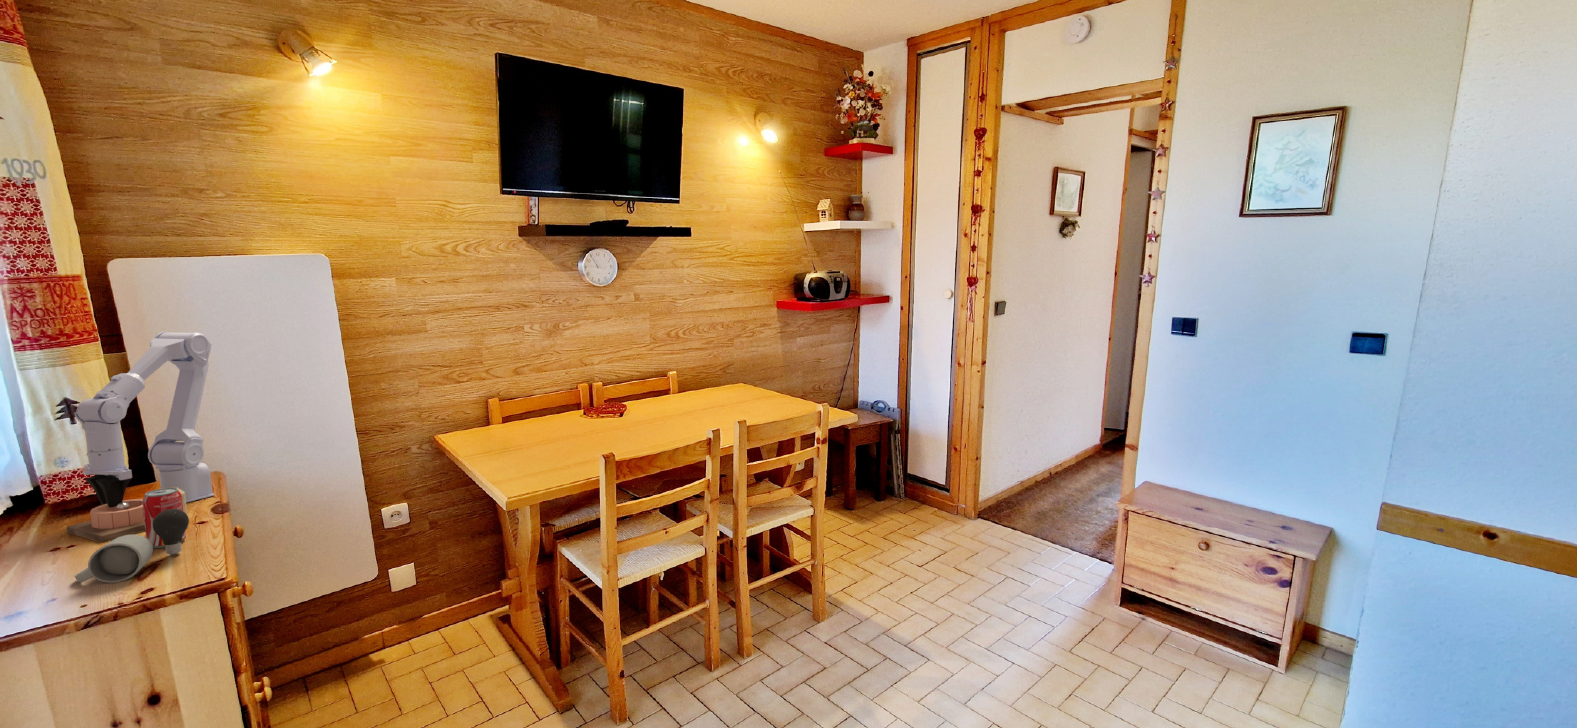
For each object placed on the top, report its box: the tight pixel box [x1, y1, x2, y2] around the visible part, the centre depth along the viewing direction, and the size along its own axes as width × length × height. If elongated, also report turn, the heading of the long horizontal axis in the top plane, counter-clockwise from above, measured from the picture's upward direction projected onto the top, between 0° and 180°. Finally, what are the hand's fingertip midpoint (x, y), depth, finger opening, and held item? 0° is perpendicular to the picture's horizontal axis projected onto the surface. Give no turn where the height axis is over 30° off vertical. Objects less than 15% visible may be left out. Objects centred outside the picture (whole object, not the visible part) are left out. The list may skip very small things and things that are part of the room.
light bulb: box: [152, 509, 190, 557], centre depth 139 cm, size 6×6×10 cm
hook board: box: [66, 520, 146, 543], centre depth 154 cm, size 14×14×2 cm
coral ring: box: [89, 498, 144, 529], centre depth 153 cm, size 10×10×4 cm
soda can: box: [142, 488, 187, 549], centre depth 144 cm, size 6×6×12 cm
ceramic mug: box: [74, 534, 154, 584], centre depth 129 cm, size 11×8×8 cm
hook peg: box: [116, 502, 130, 528], centre depth 153 cm, size 2×8×6 cm, turn 70°
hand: (111, 505), depth 155 cm, fingers open, 2 cm apart
